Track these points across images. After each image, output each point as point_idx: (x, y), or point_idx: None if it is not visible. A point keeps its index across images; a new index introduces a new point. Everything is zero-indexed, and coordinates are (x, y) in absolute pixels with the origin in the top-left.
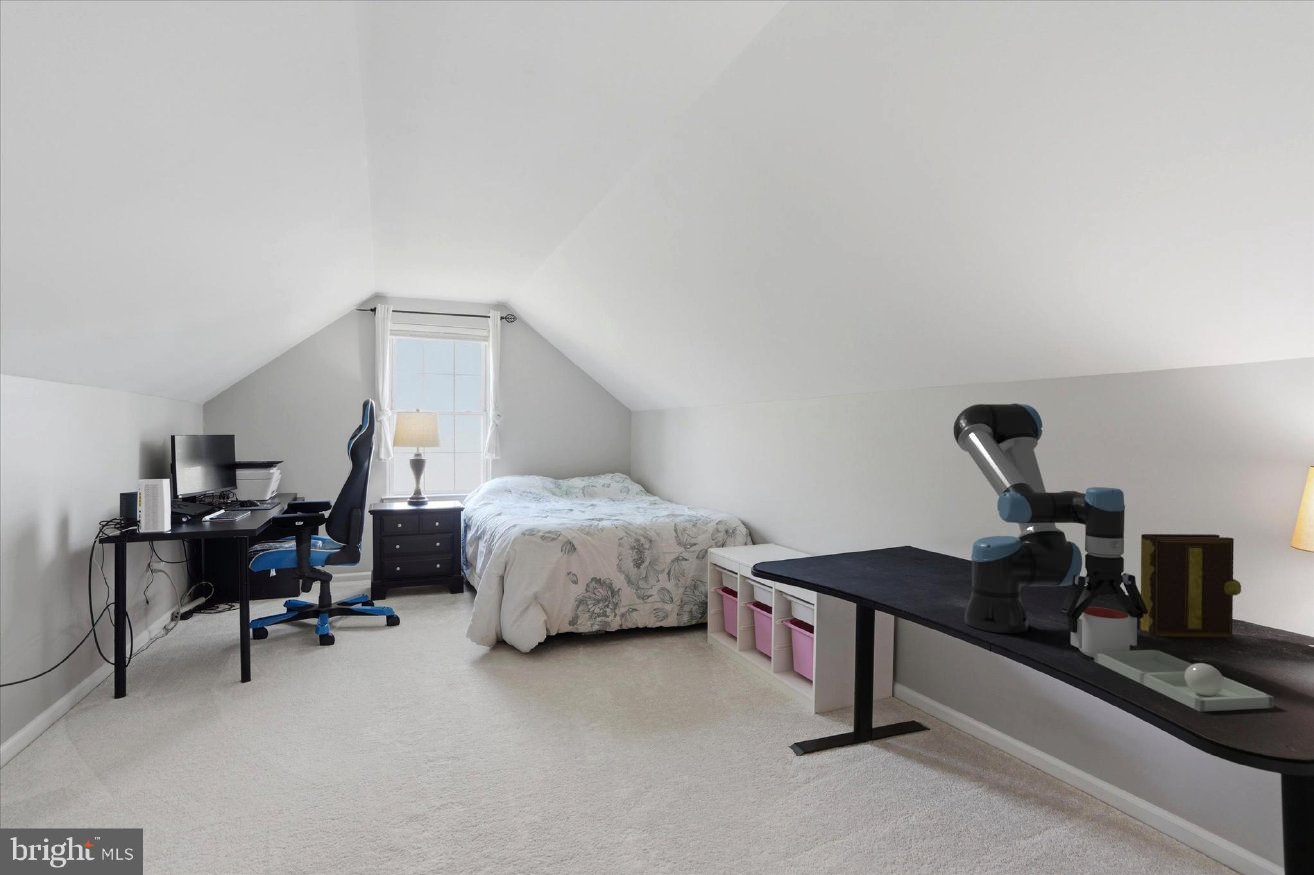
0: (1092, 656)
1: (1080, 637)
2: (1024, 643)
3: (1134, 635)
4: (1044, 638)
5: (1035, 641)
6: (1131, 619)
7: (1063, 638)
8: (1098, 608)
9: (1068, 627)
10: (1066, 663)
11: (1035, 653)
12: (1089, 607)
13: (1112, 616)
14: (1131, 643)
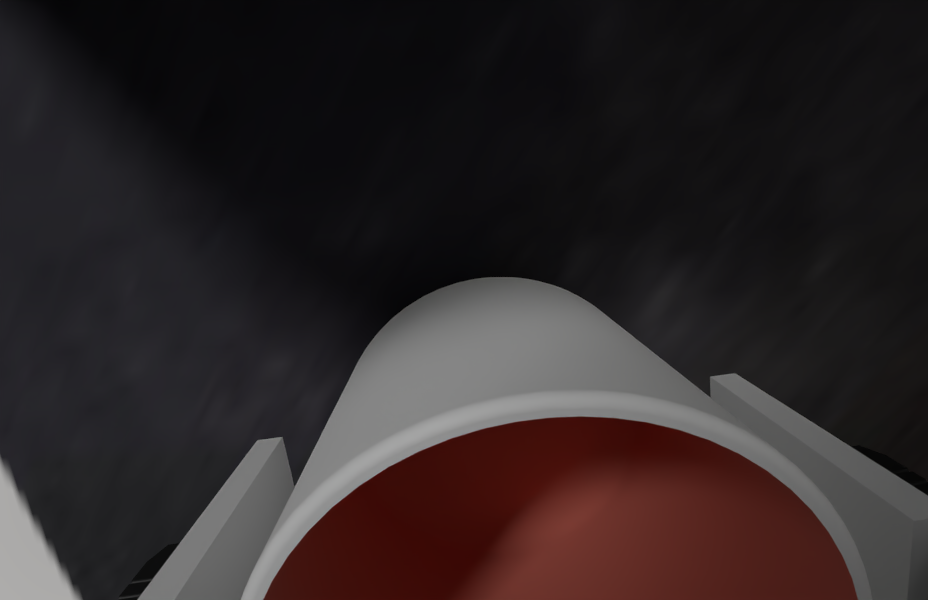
0: (383, 481)
1: None
2: (38, 178)
3: None
4: (255, 38)
5: (147, 123)
6: (878, 593)
7: (418, 35)
8: (674, 425)
9: (137, 579)
10: None
11: (47, 396)
12: (535, 418)
13: (754, 470)
14: None
